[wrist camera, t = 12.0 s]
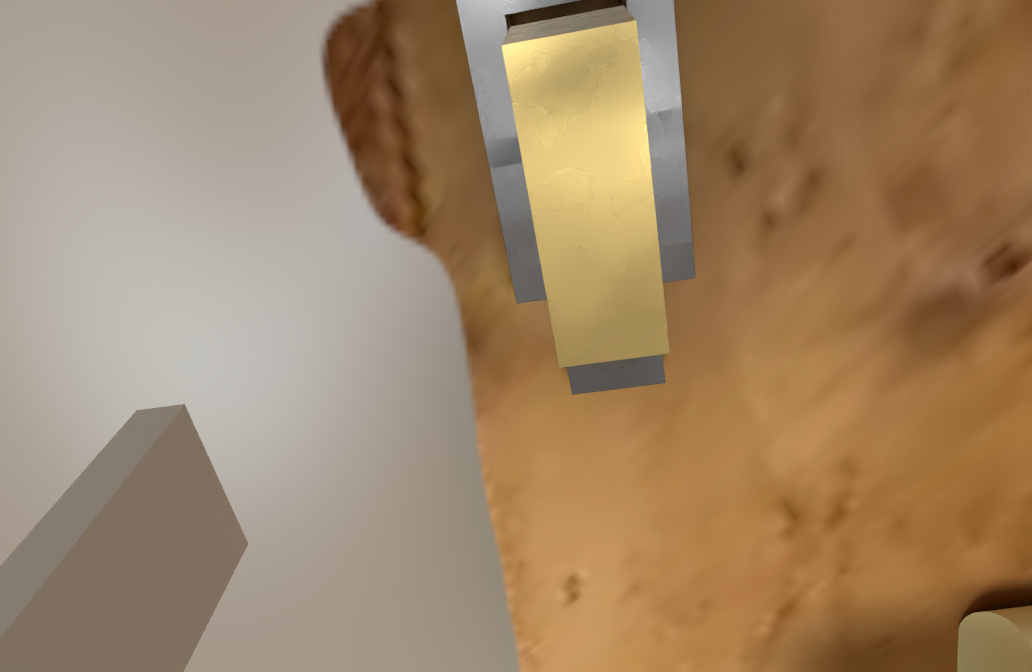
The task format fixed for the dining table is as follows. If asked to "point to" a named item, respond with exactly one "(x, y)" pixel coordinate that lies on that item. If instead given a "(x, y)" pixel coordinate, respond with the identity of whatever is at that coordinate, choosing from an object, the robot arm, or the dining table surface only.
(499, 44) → the chain joint
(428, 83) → the dining table surface
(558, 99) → the tan piece
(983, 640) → the slatted curved stool
